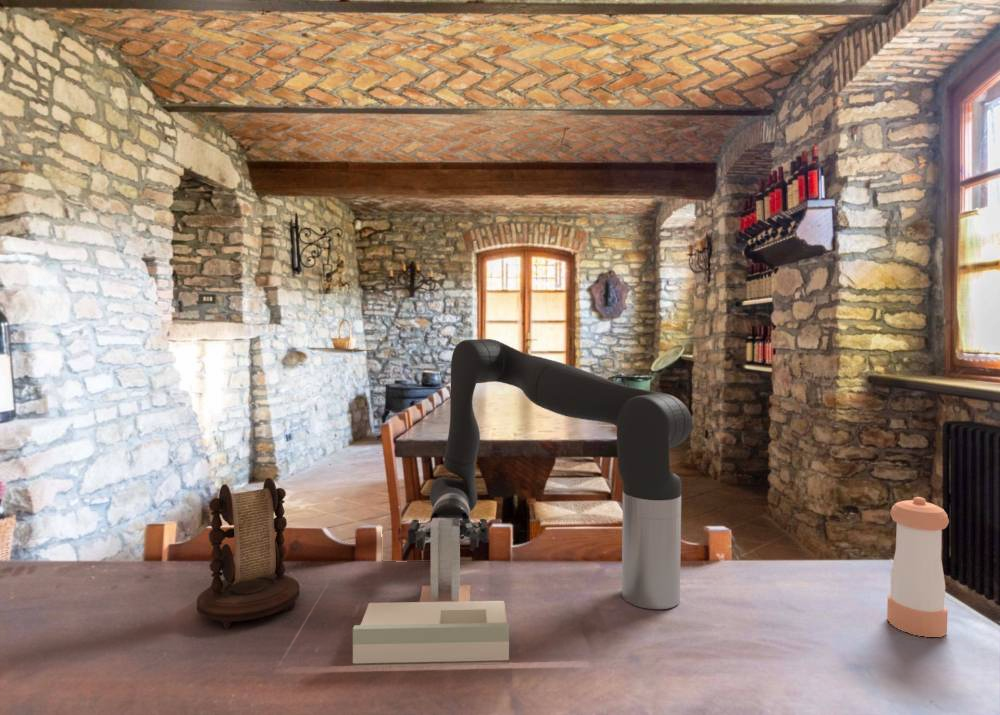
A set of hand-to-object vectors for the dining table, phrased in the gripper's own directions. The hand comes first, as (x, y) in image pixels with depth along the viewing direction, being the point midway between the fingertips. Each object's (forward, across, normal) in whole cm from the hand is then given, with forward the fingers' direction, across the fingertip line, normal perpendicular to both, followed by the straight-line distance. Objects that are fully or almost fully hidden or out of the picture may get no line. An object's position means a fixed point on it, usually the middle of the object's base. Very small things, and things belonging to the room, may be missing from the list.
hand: (447, 544), depth 100 cm
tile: (+4, 0, +8) cm, 9 cm away
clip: (+4, 0, +7) cm, 8 cm away
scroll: (+6, -30, +8) cm, 32 cm away
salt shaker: (+15, +70, +8) cm, 72 cm away
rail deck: (+18, -1, +8) cm, 19 cm away
